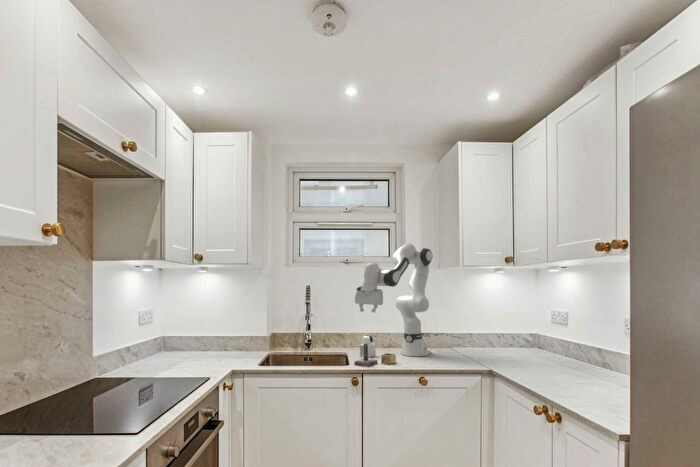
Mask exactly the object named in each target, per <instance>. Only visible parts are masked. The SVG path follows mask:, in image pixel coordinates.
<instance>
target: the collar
mask: <svg viewBox="0 0 700 467" xmlns="http://www.w3.org/2000/svg"><path fill="white" fill-rule="evenodd" d="M396 354H397V353H389V352H386V353H382V354H380V355H381V356H380V358H381V359H380V360H381V364H383V363H384V365H393V364H395V363H396V362H397V359H396V358H397V355H396Z"/></svg>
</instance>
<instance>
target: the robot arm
mask: <svg viewBox="0 0 700 467" xmlns="http://www.w3.org/2000/svg"><path fill="white" fill-rule="evenodd" d="M433 257H434V256H433V253H432V250H431V249H430V248H426V247H423V248H422V247H416V246H415V245H414V244H412V243H410V242H409V243H405V244H402V246H400V247H398V249H397V250H396V251H395V252H394V253H393V255H392V261H393V264H394V265H395V267H394V268H393V269H388V270H383V269H382V268H381V267H380V266H379V264H378V263H377V262H374V263H370V262H369V263H367V264H365V268H364V274H363V284H362V285H360V286H358V287H356V289H355V290H356V292H355V296H354V303H355V304H358V307H359V309H360V310H359V311H360V312H362V313H363V312H364V311H365V309H364V307H363V306H364V305H368V306H369V305H372V306H373V308H372V309H371V312H372V313H374V314H375V313H376V310H377V308H378V306H382V305H383V303H384V292H383V290H382V289H378V287H396V286H398V284H399V282H400V279H401V277H402V276H403V274H404V273H405V272H406V270H407V269H408V267H409V265H411V264H412V265H414V268H413V269H412V273H411V276H410V279H409V283H408V287H409V288H410V290H411V295H407V294H404V295H400V296H397V298H396V300H395V308H397V310H398V311H399V312H400V314H401V316H402V318H403V319H402V320H403V324H404V325H403V328H404V332H403V340H402V342H401V343H402V344H401V345H402V347H401V348H402V349H401V351H400V354H402V355H403V356H406V357H407V356H408V357H425V356H428V355H429V354H430V353H431V352H432V350H430V349H429V350H428V343H427V342H426V340H424V338H423V336H424V332H422V322H421V320H420V319H419V317H417V315H416V313H424V312H427V311H428V309H429V307H430V302H429V299H428V298H427V296H426V292H425V291H426V286H427V283H428V282H427V281H428V277H429V272H430V268H429V266H430V263H431V262H432V260H433Z"/></svg>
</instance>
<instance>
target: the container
mask: <svg viewBox="0 0 700 467" xmlns="http://www.w3.org/2000/svg"><path fill="white" fill-rule="evenodd" d="M373 341H374V340H373V336H371V335H363V336H362V344H359V355H360V356H359V357H361V356H364V344H365V343H367V344H368V358H372V357H371V356H373V357H375V356H376V355H377V354H376V343H373ZM374 355H375V356H374Z"/></svg>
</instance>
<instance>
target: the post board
mask: <svg viewBox="0 0 700 467" xmlns="http://www.w3.org/2000/svg"><path fill="white" fill-rule="evenodd" d="M353 362H354V363H353V364H354V366H359V367H361V366H362V367H367V366H368V367H373V366H375V365H377V364H378V360H377V359H374V358H373V359H371V358H369V357H368V344H367V343H365V344H364V357H362V358H360V359H358V360H355V361H353ZM374 364H375V365H374Z"/></svg>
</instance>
